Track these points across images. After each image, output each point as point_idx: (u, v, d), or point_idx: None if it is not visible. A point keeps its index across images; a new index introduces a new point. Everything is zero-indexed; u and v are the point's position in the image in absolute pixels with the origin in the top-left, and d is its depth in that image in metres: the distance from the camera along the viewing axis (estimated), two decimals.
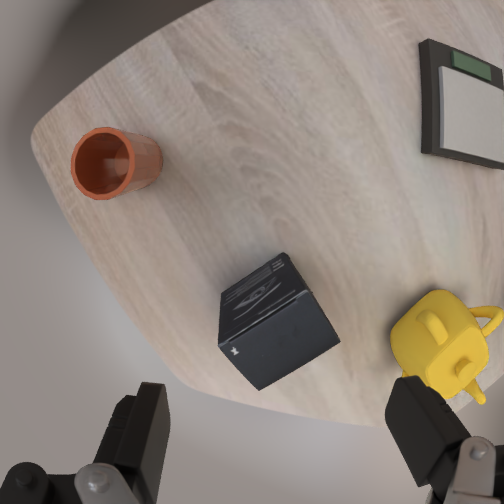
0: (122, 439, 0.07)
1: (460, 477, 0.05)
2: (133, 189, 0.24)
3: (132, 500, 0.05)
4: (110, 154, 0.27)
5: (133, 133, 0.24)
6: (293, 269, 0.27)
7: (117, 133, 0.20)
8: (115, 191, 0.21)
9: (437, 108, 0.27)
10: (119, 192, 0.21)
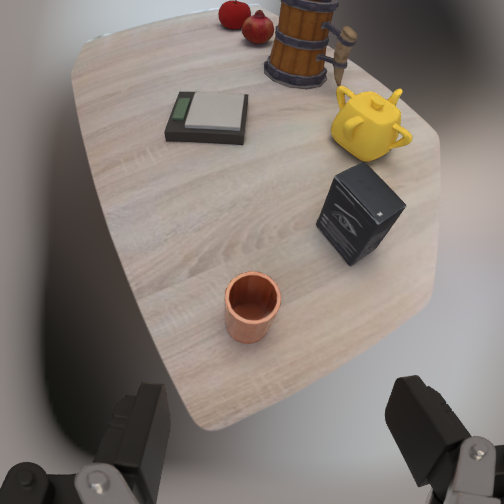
0: (122, 439, 0.07)
1: (460, 477, 0.05)
2: None
3: (132, 500, 0.05)
4: None
5: None
6: (325, 201, 0.40)
7: (231, 283, 0.30)
8: (275, 287, 0.31)
9: (213, 131, 0.50)
10: (276, 284, 0.31)
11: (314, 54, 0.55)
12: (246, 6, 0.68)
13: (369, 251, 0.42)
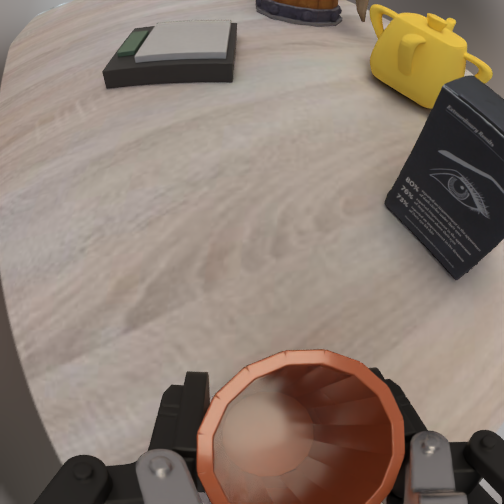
0: (177, 425, 0.07)
1: (416, 476, 0.05)
2: None
3: (191, 488, 0.05)
4: (254, 479, 0.11)
5: None
6: (414, 148, 0.17)
7: (219, 405, 0.07)
8: (384, 399, 0.07)
9: (181, 61, 0.26)
10: (385, 388, 0.07)
11: None
12: None
13: None
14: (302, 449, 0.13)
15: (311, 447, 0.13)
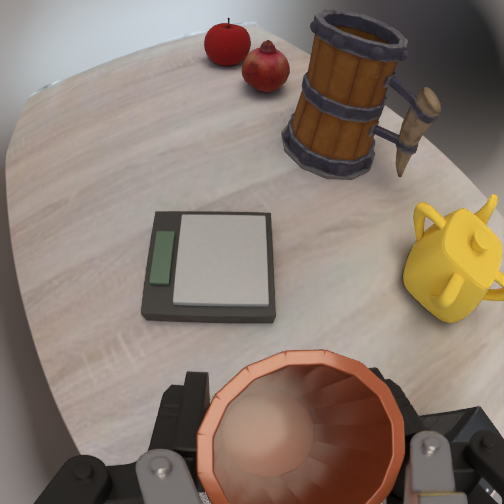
0: (177, 425, 0.07)
1: (416, 476, 0.05)
2: None
3: (191, 488, 0.05)
4: (254, 479, 0.11)
5: None
6: None
7: (219, 405, 0.07)
8: (384, 399, 0.07)
9: (223, 310, 0.30)
10: (386, 388, 0.07)
11: (367, 127, 0.37)
12: (244, 31, 0.50)
13: None
14: (302, 449, 0.13)
15: (311, 447, 0.13)
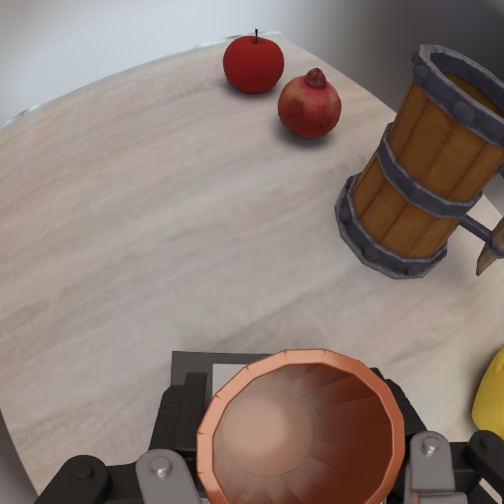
0: (177, 425, 0.07)
1: (416, 476, 0.05)
2: None
3: (191, 488, 0.05)
4: (254, 478, 0.11)
5: None
6: None
7: (219, 404, 0.07)
8: (384, 399, 0.07)
9: None
10: (385, 387, 0.07)
11: (458, 220, 0.26)
12: (277, 49, 0.39)
13: None
14: (302, 449, 0.13)
15: (311, 447, 0.13)
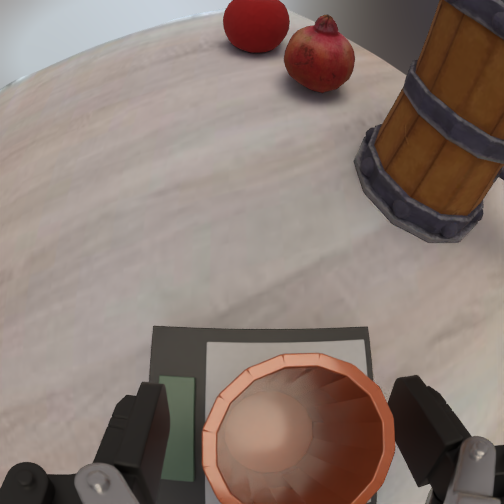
0: (122, 439, 0.07)
1: (460, 477, 0.05)
2: None
3: (132, 500, 0.05)
4: (255, 475, 0.12)
5: None
6: None
7: (222, 404, 0.08)
8: (375, 399, 0.08)
9: None
10: (377, 388, 0.08)
11: (499, 169, 0.19)
12: (282, 6, 0.33)
13: None
14: (301, 446, 0.14)
15: (310, 444, 0.14)
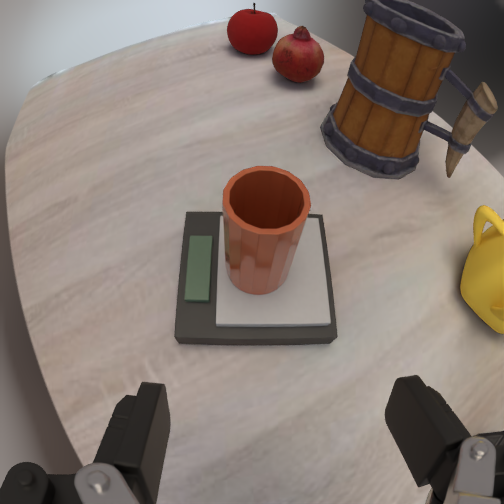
0: (122, 439, 0.07)
1: (460, 477, 0.05)
2: None
3: (132, 500, 0.05)
4: None
5: None
6: None
7: (232, 181, 0.20)
8: (299, 184, 0.20)
9: (277, 331, 0.25)
10: (299, 180, 0.20)
11: (419, 122, 0.31)
12: (271, 18, 0.45)
13: None
14: None
15: None
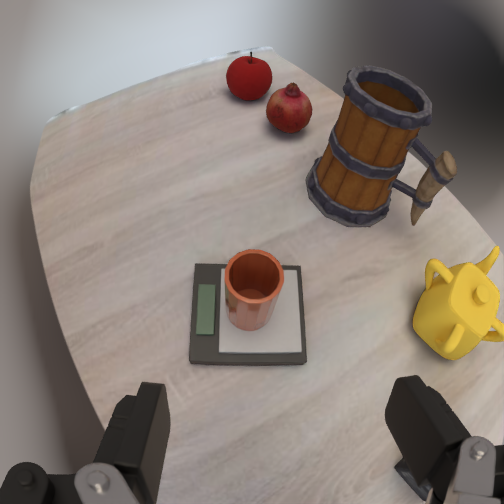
0: (122, 439, 0.07)
1: (460, 477, 0.05)
2: None
3: (132, 500, 0.05)
4: None
5: None
6: None
7: (230, 262, 0.29)
8: (277, 264, 0.29)
9: (263, 357, 0.34)
10: (277, 261, 0.29)
11: (388, 182, 0.41)
12: (266, 67, 0.54)
13: None
14: None
15: None
